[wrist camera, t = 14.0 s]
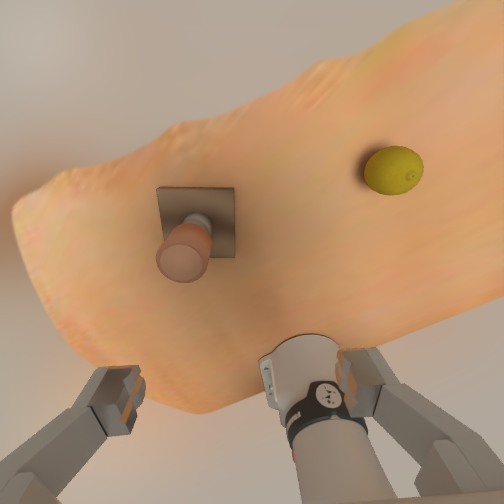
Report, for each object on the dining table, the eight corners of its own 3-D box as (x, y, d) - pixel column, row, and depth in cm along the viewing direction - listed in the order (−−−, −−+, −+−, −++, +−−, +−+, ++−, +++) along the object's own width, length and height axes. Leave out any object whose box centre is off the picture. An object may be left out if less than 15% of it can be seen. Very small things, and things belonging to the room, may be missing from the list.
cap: (217, 231, 27) (213, 250, 23) (204, 267, 29) (198, 290, 25) (174, 216, 26) (161, 233, 22) (164, 254, 28) (150, 276, 24)
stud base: (234, 253, 37) (233, 279, 30) (169, 253, 36) (153, 280, 30) (234, 187, 33) (232, 201, 26) (159, 186, 32) (138, 200, 25)
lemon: (364, 195, 34) (398, 212, 27) (347, 163, 32) (378, 171, 25) (401, 171, 33) (446, 181, 25) (385, 135, 31) (429, 135, 23)
